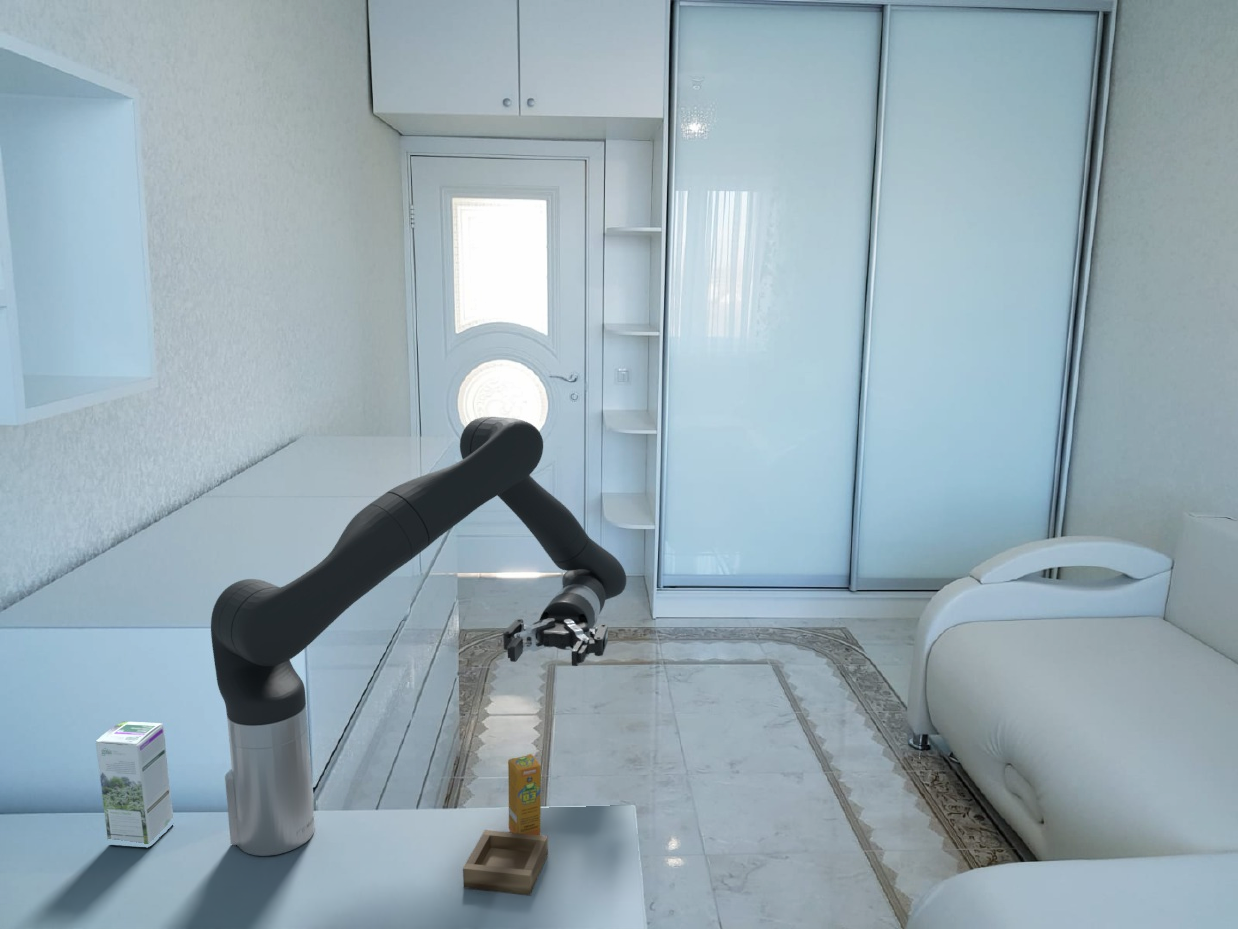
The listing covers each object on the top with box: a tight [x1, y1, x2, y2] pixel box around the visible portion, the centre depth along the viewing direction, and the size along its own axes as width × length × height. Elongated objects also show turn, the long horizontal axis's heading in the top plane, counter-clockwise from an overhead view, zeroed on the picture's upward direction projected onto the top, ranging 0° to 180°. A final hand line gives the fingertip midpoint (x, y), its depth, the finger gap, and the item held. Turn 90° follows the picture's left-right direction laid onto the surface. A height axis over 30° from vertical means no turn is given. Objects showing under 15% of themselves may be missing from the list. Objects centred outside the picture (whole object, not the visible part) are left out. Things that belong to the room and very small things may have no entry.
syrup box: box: [95, 721, 174, 844], centre depth 119 cm, size 6×6×14 cm
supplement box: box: [507, 753, 542, 835], centre depth 119 cm, size 3×3×10 cm
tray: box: [462, 829, 549, 896], centre depth 112 cm, size 8×8×2 cm
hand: (543, 657), depth 126 cm, fingers open, 8 cm apart
